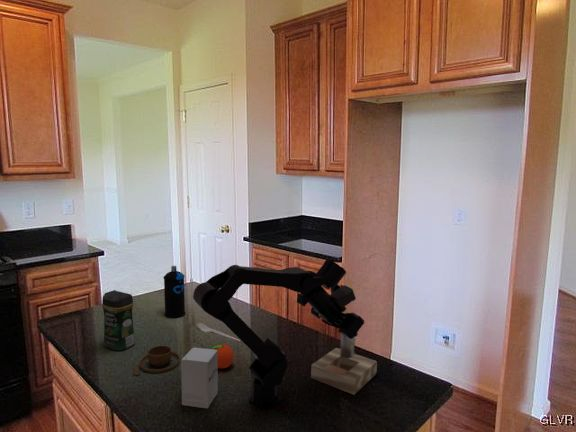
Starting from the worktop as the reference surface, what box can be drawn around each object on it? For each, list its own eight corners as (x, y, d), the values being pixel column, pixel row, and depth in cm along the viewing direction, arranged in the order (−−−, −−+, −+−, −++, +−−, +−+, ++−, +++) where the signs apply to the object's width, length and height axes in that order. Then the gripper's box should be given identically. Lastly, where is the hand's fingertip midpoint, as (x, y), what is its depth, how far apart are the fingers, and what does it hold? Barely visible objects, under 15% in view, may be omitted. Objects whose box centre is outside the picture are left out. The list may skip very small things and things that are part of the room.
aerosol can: (160, 316, 164) (158, 267, 161) (171, 309, 172) (170, 262, 169) (178, 319, 162) (177, 269, 159) (189, 312, 169) (188, 264, 167)
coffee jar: (99, 346, 138) (97, 293, 135) (119, 337, 145) (117, 286, 142) (119, 353, 133) (116, 298, 131) (139, 344, 140) (137, 291, 137)
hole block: (353, 394, 112) (354, 380, 111) (311, 377, 120) (311, 364, 120) (376, 373, 123) (376, 360, 123) (335, 359, 131) (336, 347, 131)
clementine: (208, 374, 121) (207, 351, 120) (206, 363, 128) (206, 341, 127) (235, 371, 123) (235, 348, 122) (232, 360, 130) (232, 338, 129)
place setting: (181, 350, 137) (180, 333, 137) (206, 376, 121) (206, 357, 121) (126, 365, 127) (125, 346, 127) (145, 395, 111) (145, 375, 110)
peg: (352, 359, 118) (354, 318, 116) (338, 356, 119) (340, 316, 118) (355, 353, 122) (357, 314, 120) (341, 350, 123) (343, 311, 121)
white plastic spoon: (237, 344, 143) (237, 339, 143) (195, 329, 154) (195, 324, 153) (243, 341, 146) (243, 336, 145) (201, 326, 156) (202, 321, 156)
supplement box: (208, 409, 105) (207, 362, 103) (181, 405, 106) (180, 359, 104) (218, 393, 112) (218, 349, 110) (193, 389, 113) (192, 346, 112)
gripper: (360, 288, 107) (390, 321, 114) (320, 270, 124) (348, 300, 130) (334, 322, 105) (366, 354, 111) (297, 299, 121) (327, 329, 128)
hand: (351, 332), depth 120 cm, fingers closed on peg, 4 cm apart
